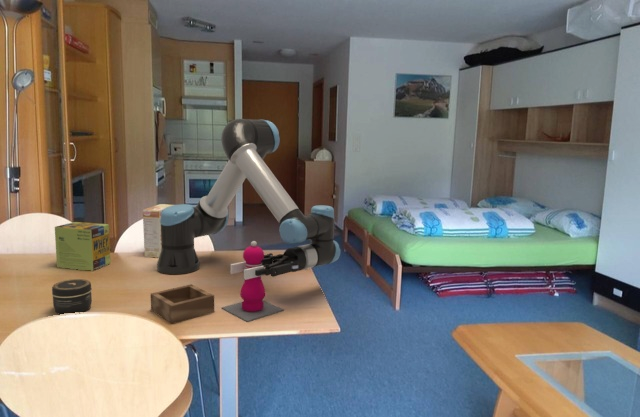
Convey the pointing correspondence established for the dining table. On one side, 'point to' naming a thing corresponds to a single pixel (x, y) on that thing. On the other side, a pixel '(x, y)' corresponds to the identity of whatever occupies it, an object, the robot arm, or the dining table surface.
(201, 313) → the walnut box
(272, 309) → the mat
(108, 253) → the protein box
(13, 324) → the dining table surface
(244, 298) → the pepper mill
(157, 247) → the coffeecake box
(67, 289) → the jar
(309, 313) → the dining table surface
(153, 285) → the dining table surface
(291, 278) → the dining table surface
